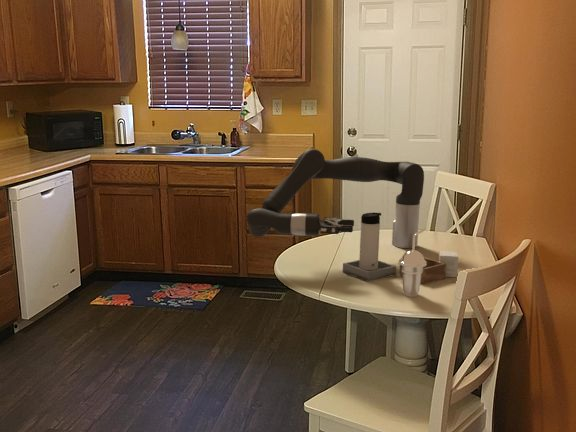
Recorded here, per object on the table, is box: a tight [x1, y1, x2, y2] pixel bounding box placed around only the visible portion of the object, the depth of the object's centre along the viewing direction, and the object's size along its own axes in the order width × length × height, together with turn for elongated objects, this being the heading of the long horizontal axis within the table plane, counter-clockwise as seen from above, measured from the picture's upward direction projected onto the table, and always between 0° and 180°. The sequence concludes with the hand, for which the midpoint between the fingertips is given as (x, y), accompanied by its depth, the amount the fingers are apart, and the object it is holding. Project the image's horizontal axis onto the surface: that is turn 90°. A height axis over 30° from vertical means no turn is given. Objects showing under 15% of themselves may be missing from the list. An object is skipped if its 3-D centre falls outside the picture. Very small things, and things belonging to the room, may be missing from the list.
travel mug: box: [358, 212, 382, 271], centre depth 210 cm, size 6×7×20 cm
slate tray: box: [342, 259, 397, 282], centre depth 212 cm, size 13×13×3 cm
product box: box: [438, 250, 459, 278], centre depth 212 cm, size 6×6×7 cm
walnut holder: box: [399, 256, 446, 285], centre depth 209 cm, size 11×11×5 cm
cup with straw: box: [397, 228, 427, 298], centre depth 190 cm, size 8×9×20 cm
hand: (353, 225), depth 210 cm, fingers open, 8 cm apart
